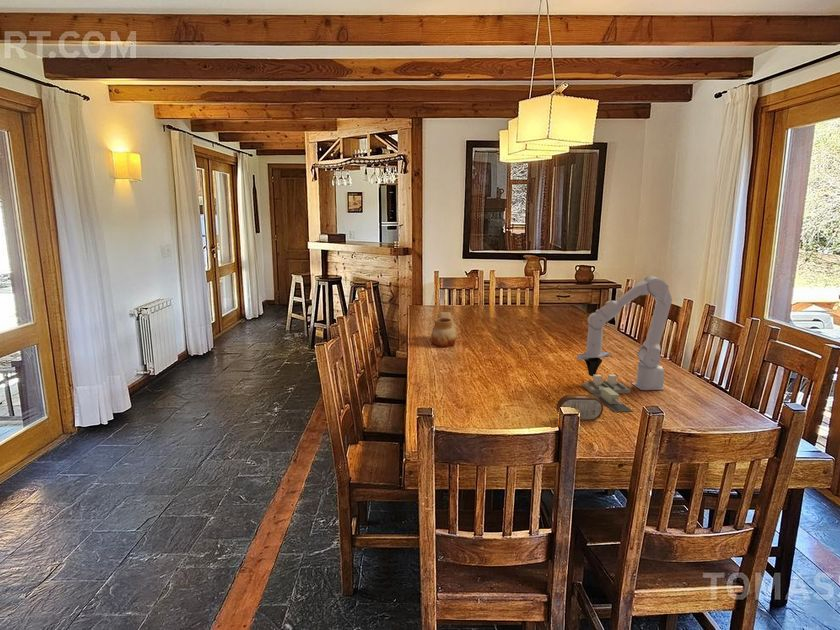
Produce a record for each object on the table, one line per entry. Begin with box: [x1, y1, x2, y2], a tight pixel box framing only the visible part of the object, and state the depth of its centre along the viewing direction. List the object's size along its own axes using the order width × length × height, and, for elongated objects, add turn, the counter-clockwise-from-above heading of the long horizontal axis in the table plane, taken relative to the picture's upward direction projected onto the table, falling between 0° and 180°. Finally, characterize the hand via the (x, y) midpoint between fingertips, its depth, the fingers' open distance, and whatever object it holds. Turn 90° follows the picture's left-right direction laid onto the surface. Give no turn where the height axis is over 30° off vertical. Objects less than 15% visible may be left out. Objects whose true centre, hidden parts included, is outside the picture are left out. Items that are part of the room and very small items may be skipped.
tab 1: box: [591, 374, 603, 385], centre depth 203 cm, size 3×2×4 cm
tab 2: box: [606, 374, 618, 385], centre depth 204 cm, size 3×2×4 cm
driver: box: [601, 388, 623, 406], centre depth 187 cm, size 3×13×4 cm, turn 5°
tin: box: [556, 394, 604, 422], centre depth 171 cm, size 15×3×8 cm, turn 92°
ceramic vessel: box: [430, 311, 458, 348], centre depth 274 cm, size 14×26×15 cm, turn 175°
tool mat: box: [592, 394, 634, 413], centre depth 188 cm, size 7×18×1 cm, turn 5°
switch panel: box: [582, 379, 631, 395], centre depth 202 cm, size 15×9×2 cm, turn 95°
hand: (591, 375), depth 209 cm, fingers closed
